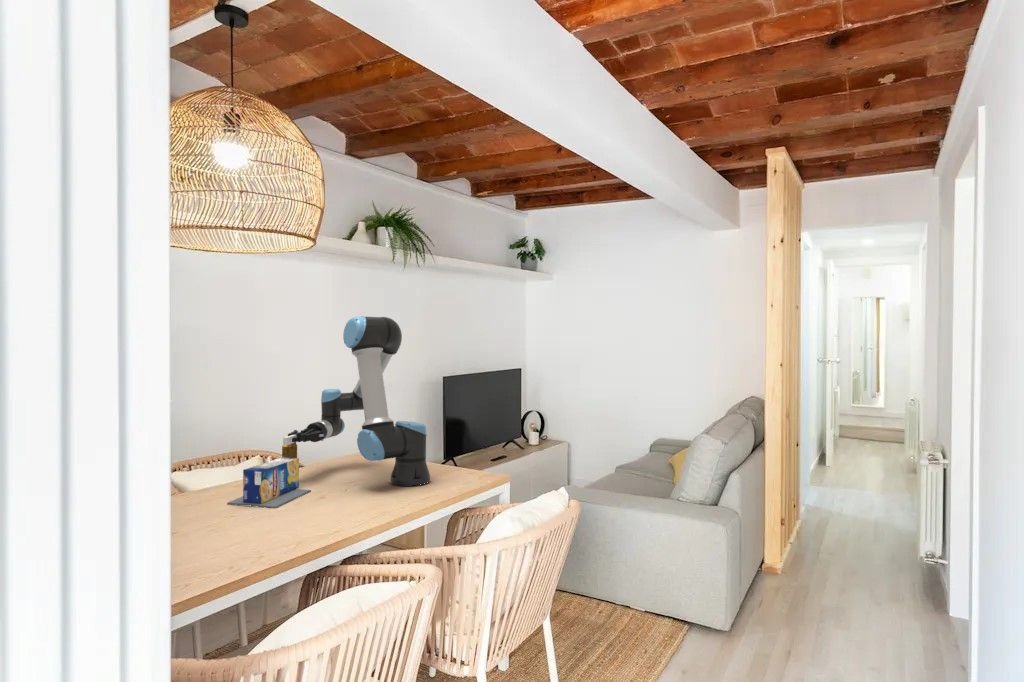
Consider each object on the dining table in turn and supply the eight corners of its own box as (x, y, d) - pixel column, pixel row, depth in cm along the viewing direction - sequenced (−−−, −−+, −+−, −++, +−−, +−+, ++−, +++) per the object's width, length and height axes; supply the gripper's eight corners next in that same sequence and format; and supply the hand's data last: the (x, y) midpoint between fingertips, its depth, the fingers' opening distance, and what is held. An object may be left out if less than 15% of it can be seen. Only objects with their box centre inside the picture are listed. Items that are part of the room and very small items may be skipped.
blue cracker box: (298, 457, 234) (261, 470, 212) (298, 487, 234) (261, 503, 213) (282, 456, 235) (243, 469, 214) (282, 486, 236) (243, 502, 214)
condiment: (278, 466, 272) (278, 438, 272) (298, 463, 277) (298, 436, 277) (284, 469, 266) (285, 440, 266) (304, 466, 272) (305, 438, 271)
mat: (310, 491, 231) (310, 489, 231) (275, 508, 210) (275, 506, 210) (266, 488, 235) (266, 486, 235) (227, 504, 214) (227, 502, 214)
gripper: (333, 441, 253) (301, 452, 230) (303, 439, 255) (268, 450, 232) (333, 422, 252) (301, 432, 229) (303, 421, 255) (268, 430, 232)
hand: (285, 441), depth 231 cm, fingers closed
